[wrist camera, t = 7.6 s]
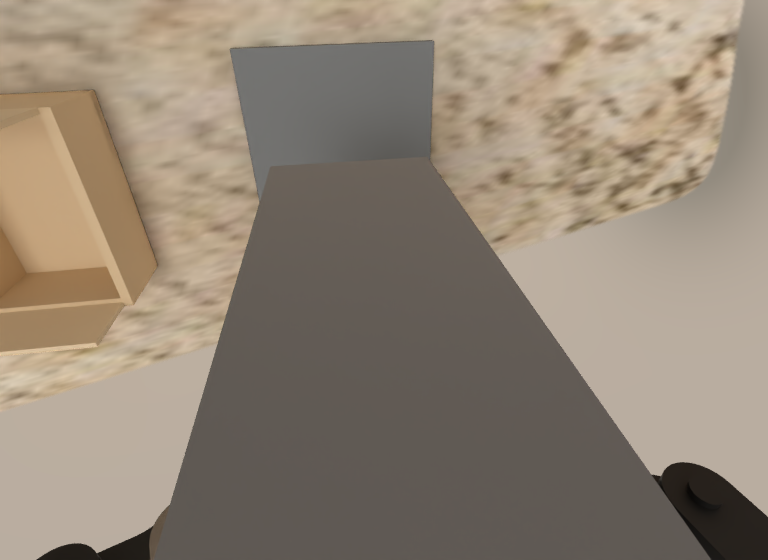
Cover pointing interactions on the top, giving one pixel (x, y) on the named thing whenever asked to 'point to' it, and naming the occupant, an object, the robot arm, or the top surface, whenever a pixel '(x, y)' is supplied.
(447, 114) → the top surface
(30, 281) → the carton
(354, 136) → the mat
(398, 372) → the box
